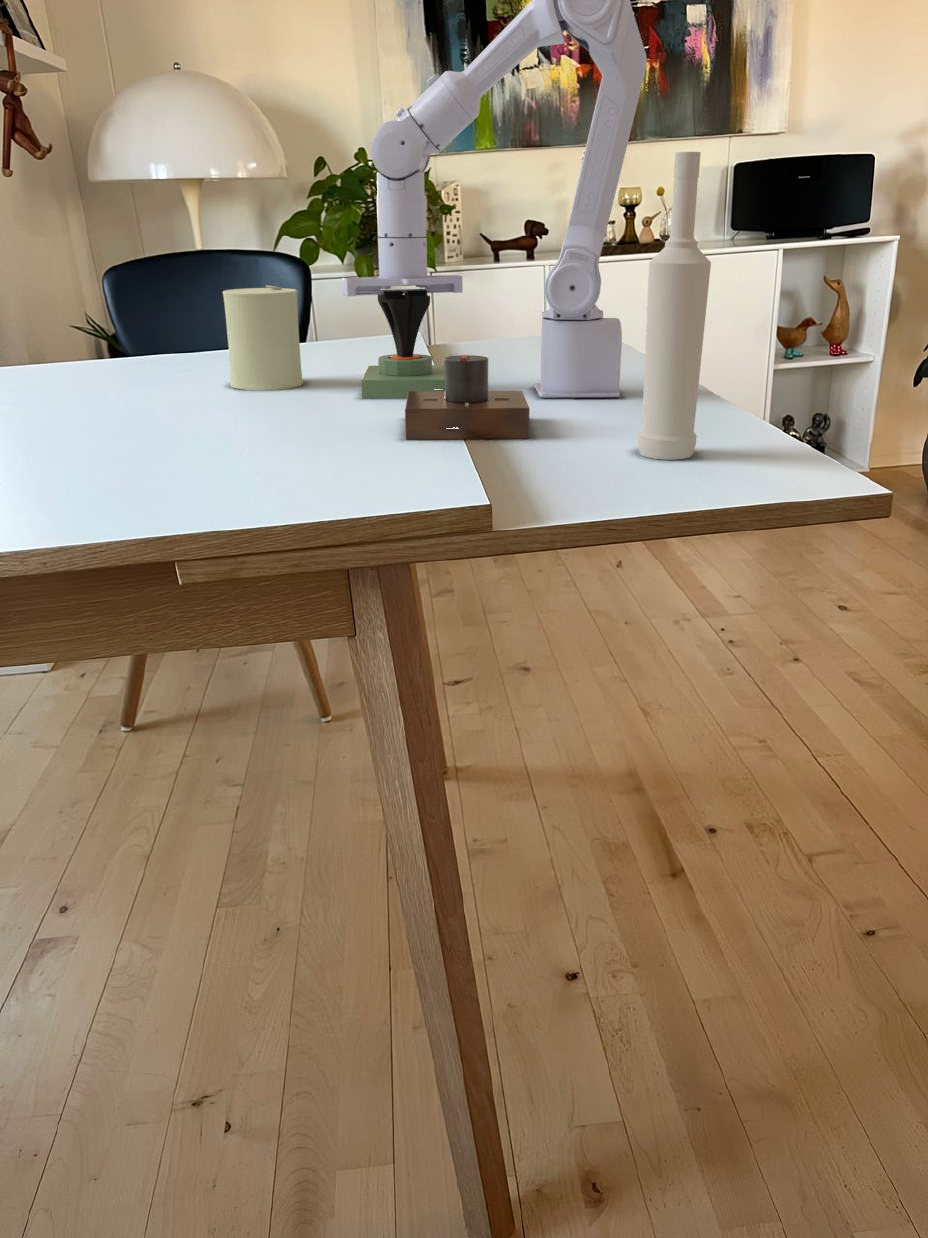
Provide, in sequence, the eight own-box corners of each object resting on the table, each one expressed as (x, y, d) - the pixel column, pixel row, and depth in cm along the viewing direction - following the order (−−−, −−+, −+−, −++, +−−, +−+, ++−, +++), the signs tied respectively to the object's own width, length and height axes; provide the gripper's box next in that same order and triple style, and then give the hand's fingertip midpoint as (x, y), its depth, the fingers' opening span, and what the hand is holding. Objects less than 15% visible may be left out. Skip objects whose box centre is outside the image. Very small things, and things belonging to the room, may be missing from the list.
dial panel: (521, 418, 108) (522, 388, 106) (528, 438, 98) (529, 406, 97) (409, 419, 107) (408, 389, 106) (405, 439, 98) (404, 406, 97)
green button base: (446, 382, 131) (446, 350, 129) (446, 398, 119) (446, 363, 118) (369, 382, 130) (367, 351, 129) (362, 398, 119) (360, 364, 118)
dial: (448, 394, 104) (448, 351, 102) (490, 395, 103) (491, 352, 102) (441, 401, 100) (440, 357, 98) (484, 402, 99) (485, 358, 98)
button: (420, 368, 126) (420, 353, 125) (419, 372, 122) (419, 357, 122) (391, 368, 126) (391, 354, 125) (390, 372, 122) (389, 357, 122)
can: (317, 381, 131) (311, 284, 127) (276, 392, 124) (269, 289, 119) (258, 377, 135) (251, 282, 130) (215, 387, 127) (206, 287, 123)
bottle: (683, 462, 89) (707, 149, 79) (628, 456, 91) (646, 151, 82) (703, 451, 93) (729, 152, 83) (650, 445, 95) (669, 154, 86)
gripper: (352, 238, 112) (357, 363, 117) (472, 237, 117) (472, 356, 123) (335, 237, 118) (340, 356, 123) (450, 236, 123) (450, 350, 129)
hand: (405, 356), depth 123 cm, fingers closed, pressing on button
